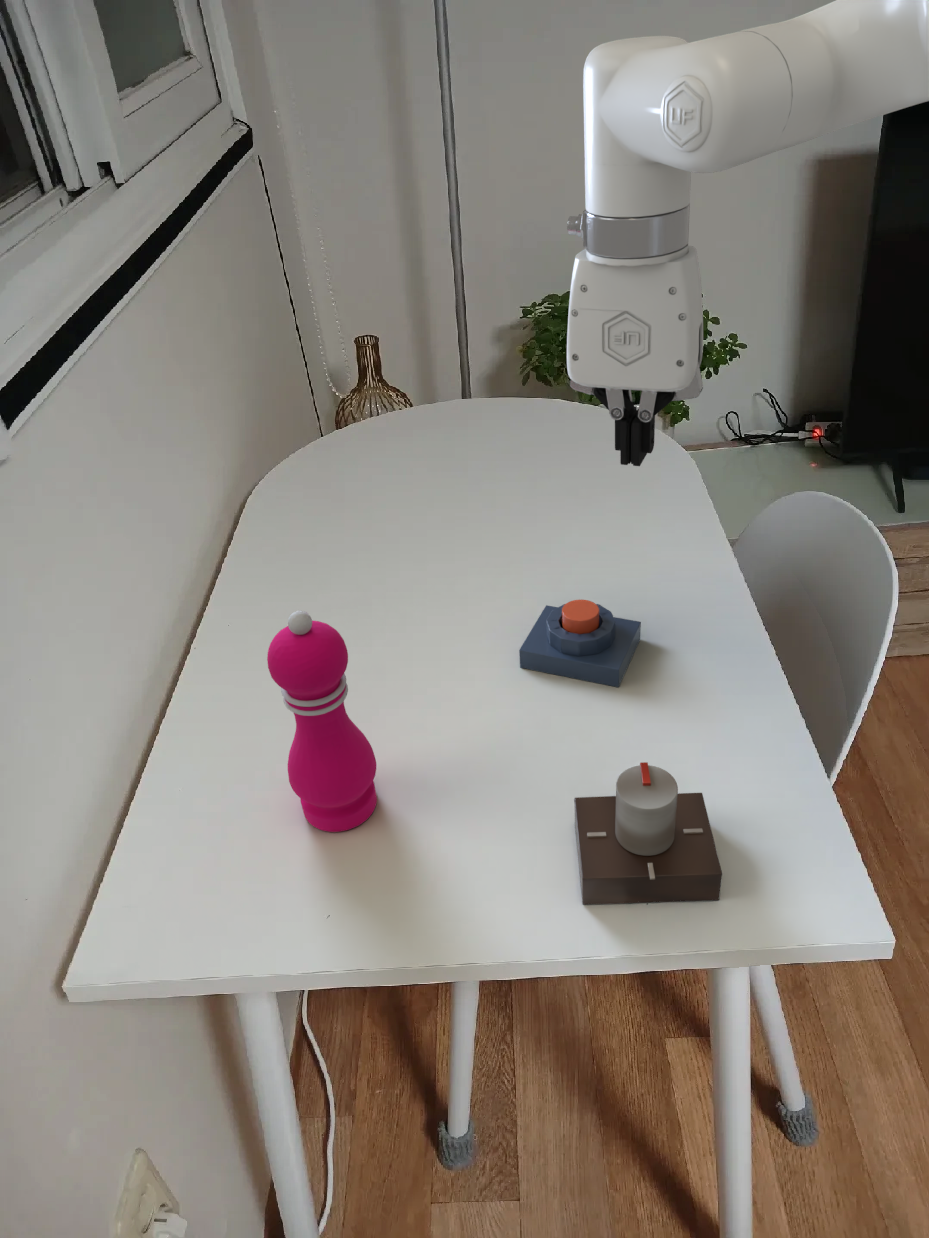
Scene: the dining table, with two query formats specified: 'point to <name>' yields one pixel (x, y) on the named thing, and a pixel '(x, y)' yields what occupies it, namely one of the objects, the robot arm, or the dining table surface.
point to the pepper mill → (322, 726)
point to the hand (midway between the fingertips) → (634, 458)
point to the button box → (581, 648)
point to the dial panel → (646, 857)
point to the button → (580, 616)
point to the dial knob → (645, 809)
